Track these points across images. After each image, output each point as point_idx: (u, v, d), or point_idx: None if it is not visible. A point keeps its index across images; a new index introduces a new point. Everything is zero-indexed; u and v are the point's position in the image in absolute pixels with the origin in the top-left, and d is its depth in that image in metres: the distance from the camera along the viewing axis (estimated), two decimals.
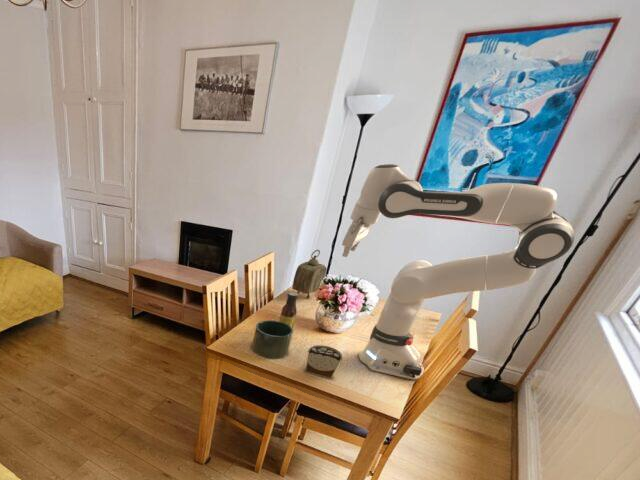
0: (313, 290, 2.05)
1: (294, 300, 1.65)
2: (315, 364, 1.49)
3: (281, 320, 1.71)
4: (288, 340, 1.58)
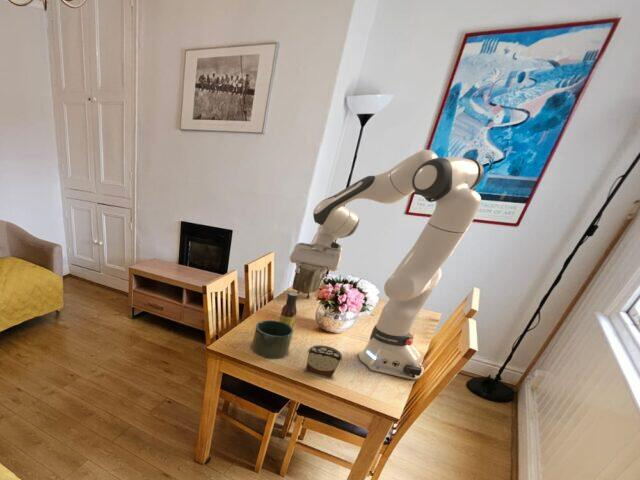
0: (313, 290, 2.05)
1: (294, 300, 1.65)
2: (315, 364, 1.49)
3: (281, 320, 1.71)
4: (288, 340, 1.58)
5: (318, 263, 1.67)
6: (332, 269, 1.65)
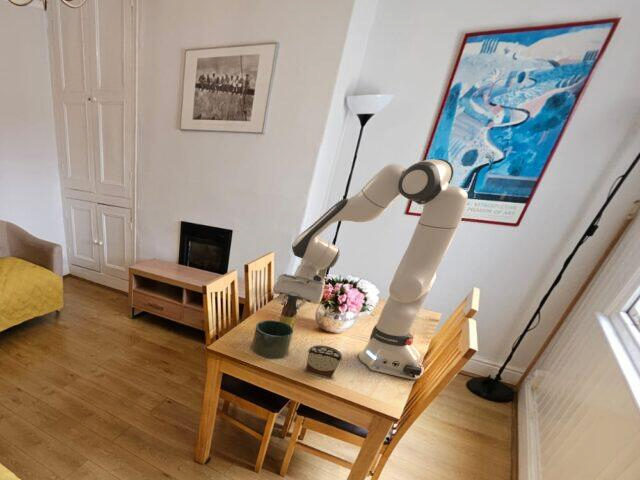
0: None
1: (294, 300, 1.65)
2: (315, 364, 1.49)
3: (281, 320, 1.71)
4: (288, 340, 1.58)
5: (301, 296, 1.65)
6: (315, 302, 1.63)
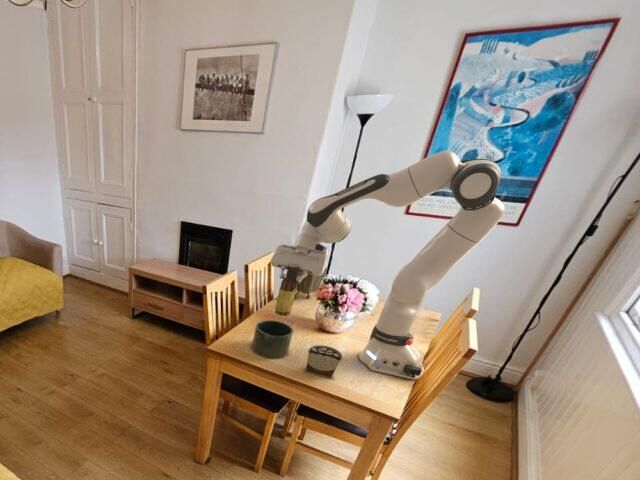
0: (313, 290, 2.05)
1: (294, 272, 1.50)
2: (315, 364, 1.49)
3: (280, 295, 1.56)
4: (288, 340, 1.58)
5: (301, 267, 1.50)
6: (317, 274, 1.48)
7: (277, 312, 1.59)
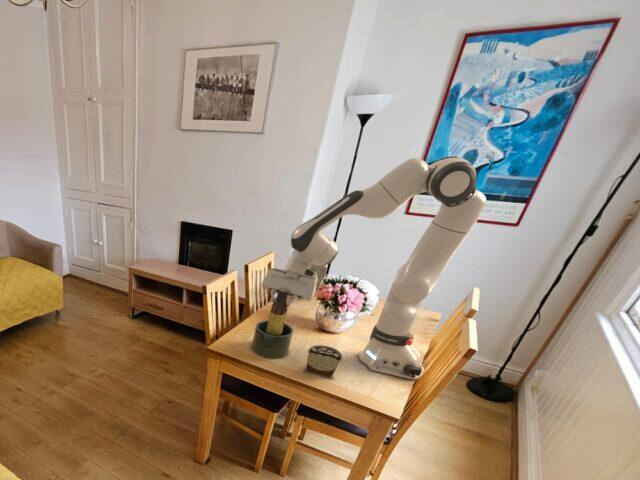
0: None
1: (284, 296, 1.52)
2: (315, 364, 1.49)
3: (270, 318, 1.57)
4: (288, 340, 1.58)
5: (291, 291, 1.52)
6: (306, 298, 1.50)
7: None
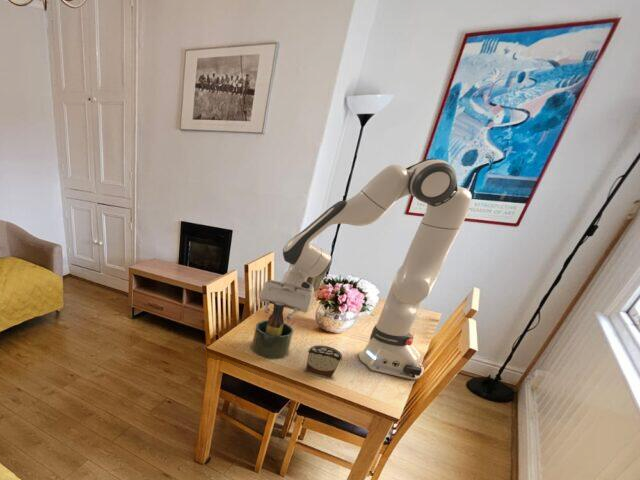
0: None
1: (281, 310, 1.55)
2: (315, 364, 1.49)
3: (267, 331, 1.61)
4: (288, 340, 1.58)
5: (288, 304, 1.54)
6: (303, 310, 1.53)
7: None
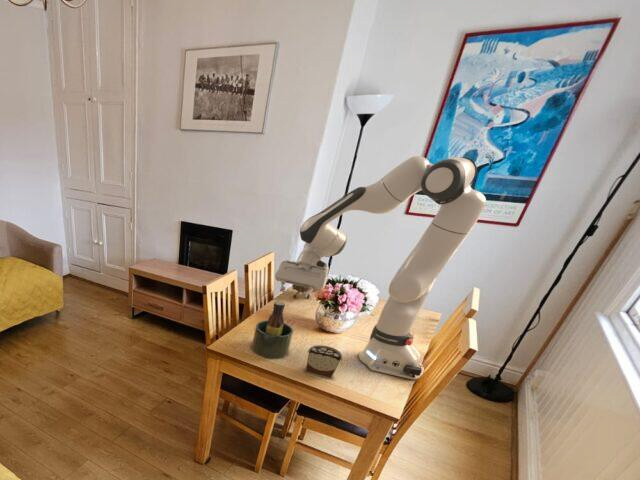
0: (313, 290, 2.05)
1: (281, 310, 1.55)
2: (315, 364, 1.49)
3: (267, 331, 1.61)
4: (288, 340, 1.58)
5: (304, 282, 1.60)
6: (318, 288, 1.59)
7: None
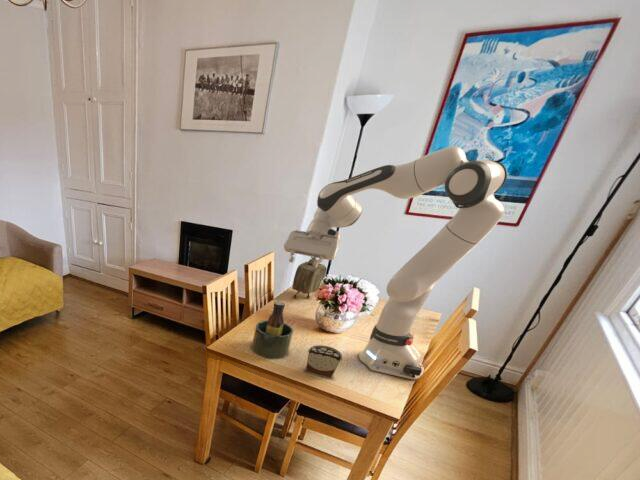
0: (313, 290, 2.05)
1: (281, 310, 1.55)
2: (315, 364, 1.49)
3: (267, 331, 1.61)
4: (288, 340, 1.58)
5: (314, 251, 1.56)
6: (329, 258, 1.54)
7: None
